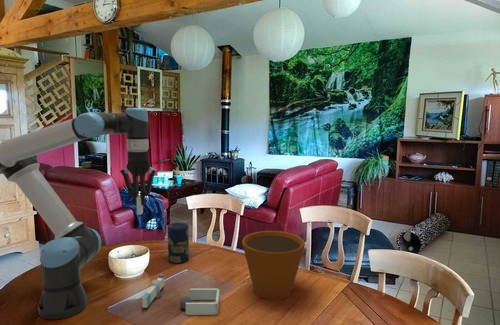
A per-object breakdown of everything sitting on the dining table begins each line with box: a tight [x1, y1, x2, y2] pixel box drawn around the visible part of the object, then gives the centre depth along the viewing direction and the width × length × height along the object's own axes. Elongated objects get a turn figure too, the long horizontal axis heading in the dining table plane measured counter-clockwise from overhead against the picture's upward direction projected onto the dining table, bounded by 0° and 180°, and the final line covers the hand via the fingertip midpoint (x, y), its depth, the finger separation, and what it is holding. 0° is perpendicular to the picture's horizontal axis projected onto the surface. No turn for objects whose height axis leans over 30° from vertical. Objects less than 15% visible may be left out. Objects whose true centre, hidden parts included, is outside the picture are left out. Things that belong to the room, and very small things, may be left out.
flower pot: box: [241, 230, 306, 300], centre depth 137 cm, size 24×24×20 cm
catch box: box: [185, 288, 221, 316], centre depth 125 cm, size 11×11×4 cm
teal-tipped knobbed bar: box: [141, 272, 165, 309], centre depth 131 cm, size 3×17×5 cm, turn 173°
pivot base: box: [153, 291, 163, 300], centre depth 133 cm, size 4×4×1 cm
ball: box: [179, 296, 193, 310], centre depth 124 cm, size 4×4×4 cm
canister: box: [167, 222, 190, 264], centre depth 164 cm, size 10×10×18 cm
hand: (140, 213), depth 132 cm, fingers closed
